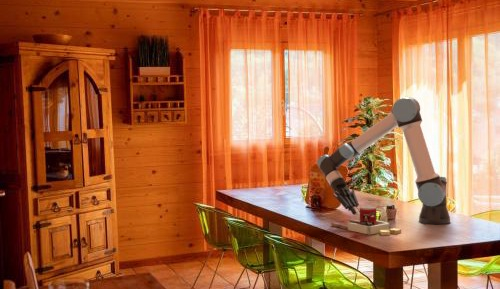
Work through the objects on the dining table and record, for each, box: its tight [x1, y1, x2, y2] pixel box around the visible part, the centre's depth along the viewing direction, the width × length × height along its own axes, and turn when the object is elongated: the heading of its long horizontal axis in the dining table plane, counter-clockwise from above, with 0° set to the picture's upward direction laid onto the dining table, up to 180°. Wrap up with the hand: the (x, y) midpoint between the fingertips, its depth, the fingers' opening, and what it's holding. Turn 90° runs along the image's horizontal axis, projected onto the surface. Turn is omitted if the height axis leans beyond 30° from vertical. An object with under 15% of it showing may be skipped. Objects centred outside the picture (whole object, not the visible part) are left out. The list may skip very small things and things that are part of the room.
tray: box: [347, 219, 392, 235], centre depth 288 cm, size 14×14×4 cm
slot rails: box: [330, 219, 360, 231], centre depth 300 cm, size 12×14×2 cm
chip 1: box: [379, 230, 391, 236], centre depth 279 cm, size 4×4×2 cm
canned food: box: [359, 205, 377, 226], centre depth 289 cm, size 8×8×11 cm
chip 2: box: [389, 227, 402, 235], centre depth 281 cm, size 4×4×2 cm
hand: (360, 218), depth 293 cm, fingers closed
